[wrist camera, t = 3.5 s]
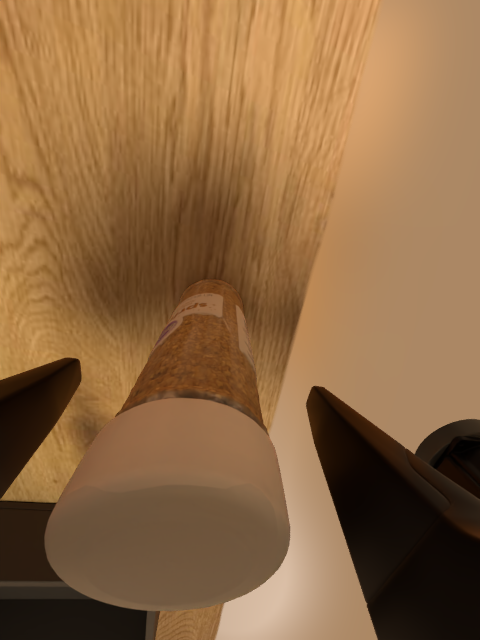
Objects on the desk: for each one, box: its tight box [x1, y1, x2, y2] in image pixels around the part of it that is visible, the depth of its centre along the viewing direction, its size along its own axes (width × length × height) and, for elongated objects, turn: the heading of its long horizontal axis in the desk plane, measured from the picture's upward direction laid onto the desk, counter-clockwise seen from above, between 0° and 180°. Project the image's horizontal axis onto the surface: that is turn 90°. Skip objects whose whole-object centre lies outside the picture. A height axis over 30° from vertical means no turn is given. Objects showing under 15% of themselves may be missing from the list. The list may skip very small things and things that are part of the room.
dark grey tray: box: [0, 501, 160, 640], centre depth 25 cm, size 22×20×6 cm
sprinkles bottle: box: [44, 279, 290, 611], centre depth 10 cm, size 5×5×13 cm
